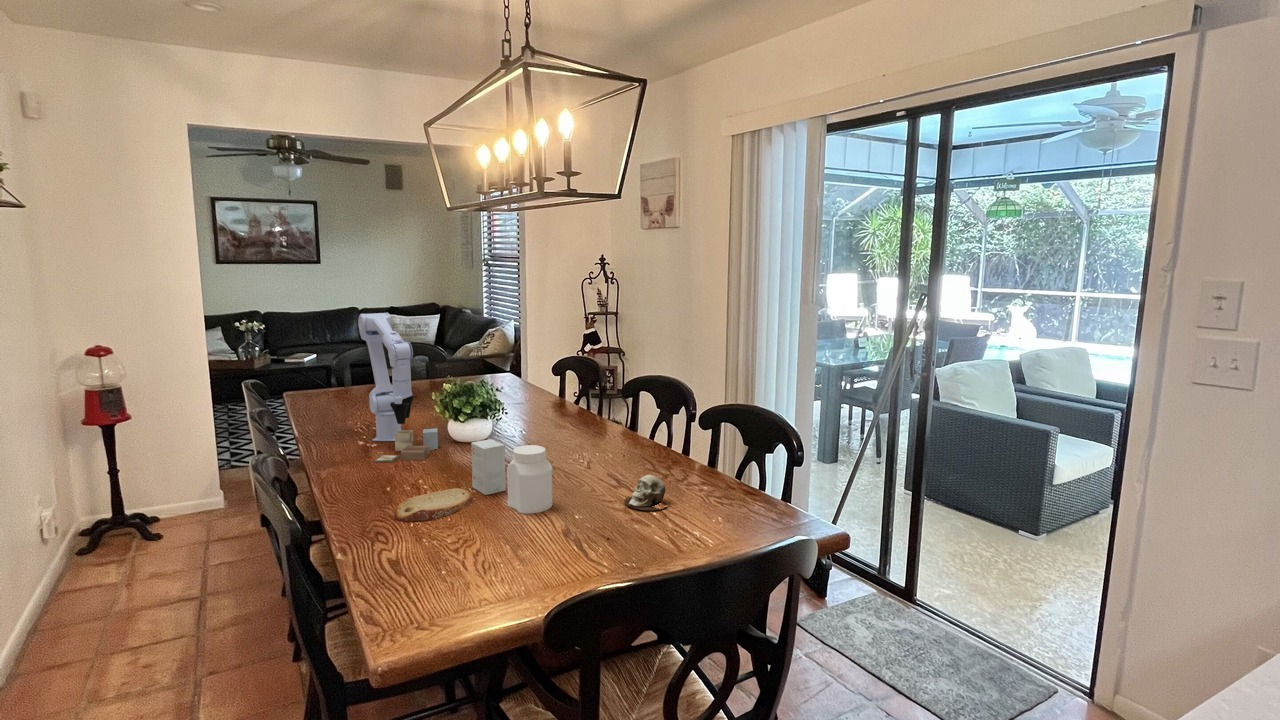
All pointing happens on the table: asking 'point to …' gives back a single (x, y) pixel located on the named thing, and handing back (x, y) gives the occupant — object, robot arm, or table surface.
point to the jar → (529, 480)
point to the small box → (488, 466)
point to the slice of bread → (432, 505)
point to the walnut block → (415, 452)
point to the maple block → (403, 439)
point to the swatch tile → (387, 458)
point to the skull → (647, 493)
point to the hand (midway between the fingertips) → (403, 420)
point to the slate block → (430, 438)
